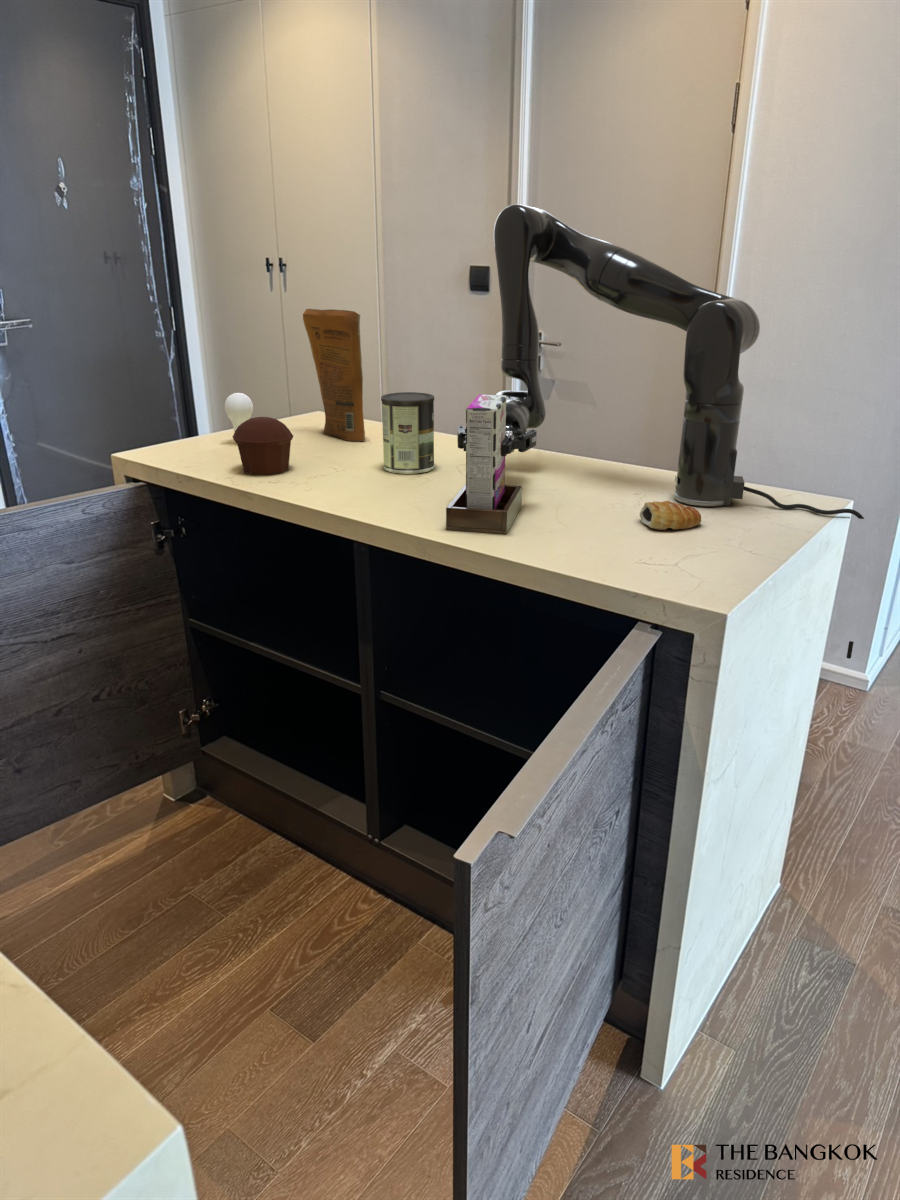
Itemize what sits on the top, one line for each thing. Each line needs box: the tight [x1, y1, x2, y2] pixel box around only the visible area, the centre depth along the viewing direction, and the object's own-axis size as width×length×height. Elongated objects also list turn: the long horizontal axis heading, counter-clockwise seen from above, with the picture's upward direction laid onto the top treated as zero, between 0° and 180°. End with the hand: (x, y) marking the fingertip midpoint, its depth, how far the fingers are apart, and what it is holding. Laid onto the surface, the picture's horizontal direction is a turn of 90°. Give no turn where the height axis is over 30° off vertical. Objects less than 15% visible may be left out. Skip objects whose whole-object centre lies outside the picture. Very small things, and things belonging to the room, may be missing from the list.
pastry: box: [639, 500, 702, 531], centre depth 137 cm, size 9×7×4 cm
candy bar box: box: [465, 393, 507, 510], centre depth 137 cm, size 11×5×16 cm, turn 168°
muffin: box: [232, 416, 294, 476], centre depth 168 cm, size 12×11×10 cm
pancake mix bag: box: [302, 308, 366, 442], centre depth 193 cm, size 7×19×28 cm, turn 40°
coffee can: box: [380, 391, 435, 475], centre depth 169 cm, size 10×10×14 cm
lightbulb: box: [224, 392, 254, 432], centre depth 190 cm, size 6×6×11 cm
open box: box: [445, 483, 523, 535], centre depth 140 cm, size 10×16×4 cm, turn 167°
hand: (486, 449), depth 137 cm, fingers closed on candy bar box, 5 cm apart
